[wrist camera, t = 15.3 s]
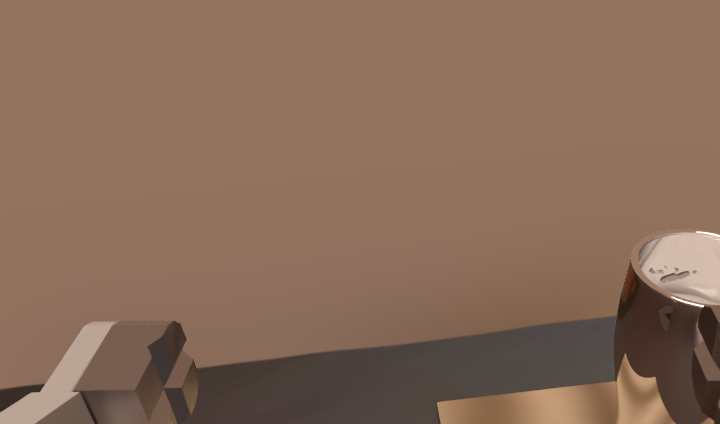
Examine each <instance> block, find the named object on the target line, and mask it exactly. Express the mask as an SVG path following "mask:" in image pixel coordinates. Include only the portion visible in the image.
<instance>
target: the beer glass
mask: <svg viewBox="0 0 720 424" xmlns="http://www.w3.org/2000/svg"><path fill="white" fill-rule="evenodd" d="M704 305H720V233H717V232H713V231H707V230H701V229H687V228H684V229H683V228H682V229H669V230H663V231H659V232H655V233H652V234H650V235H648V236H646V237H644V238H642V239H641V240H640V241H639V242H638V243H637V244H636V245H635V246H634V248H633V250H632V253H631V259H630V263H629V267H628V271H627V274H626V278H625V282H624V285H623V289H622V293H621V297H620V301H619V306H618V311H617V316H616V324H615V333H614V368H615V382H616V393H617V416H616V420H615V423H614V424H714V421H713V420H712V419H710V418H709V417H708V416H706V415H705V414H704V413H702V412H701V410H700V407H699V404H698V402H697V399H696V396H695V392H694V388H693V383H692V368H691V365H692V357H693V350H694V348H695V347H697V346H698V345H699V344H700V343H701V342H702V341H703V338H702V335H701V333H700V331H699V329H698V327H697V326H698V321H699V315H700V312H701V310H702V308H703V307H704Z"/></svg>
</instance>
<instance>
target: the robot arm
mask: <svg viewBox="0 0 720 424" xmlns="http://www.w3.org/2000/svg"><path fill="white" fill-rule="evenodd" d="M697 327H698V329H699V331H700V333H701V335H702V338H703V341H702V342H701V343H700V344H699V345H698V346H697V347H695V348H694V350H693V357H692V365H691V368H692V383H693V388H694V392H695V396H696V399H697V402H698V404H699V407H700V410H701V412H702V413H704V414H705V415H706V416H708V417H709V418H710V419H712V420H713V421H714V424H720V305H704V307H703V308H702V310H701V312H700V315H699V321H698V326H697ZM185 341H186V336H185V334H184V332H183V329H182V326H181V324H180V323H178V322H176V321H119V322H91V323H89V324H87V325H85V326H84V327H83V328H82V330H81V331H80V333H79V334H78V336H77V338H76V339H75V340H74V342H73V343H72V345H71V346H70V348H69V350H68V351H67V353H66V354H65V355H64V357H63V359H62V360H61V361H60V363H59V365H58V366H57V368H56V369H55V371H54V372H53V374H52V375H51V377H50V378H49V380H48V381H47V383H46V384H45V386H44V387H43V389H42V390H41V392H37V393H30V394H28V395H27V396H25V397H24V398H22V399H21V400H19V401H18V402H16V403H15V404H13V405H12V406H10V407H8V408H7V409H5V410H4V411H2V412H1V413H0V424H181V423H183V422H184V421H185V420H186V419H187V418H189V417H190V416H191V414H192V412H193V409H194V406H195V404H196V400H197V392H198V376H197V369H196V366H195V363H194V360H193V359H192V358H191V357H190V356H189V355H188V354H186V353H185V352H184V351H183V350H182V348H183V346H184V344H185Z"/></svg>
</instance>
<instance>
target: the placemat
mask: <svg viewBox="0 0 720 424" xmlns="http://www.w3.org/2000/svg"><path fill="white" fill-rule="evenodd" d="M437 407H438V413H439V419H440V424H614V423H615V420H616V416H617V393H616V382H615V381H613V382H605V383H596V384H588V385H579V386H571V387H562V388H554V389H545V390H537V391H528V392H520V393H511V394H503V395H494V396H486V397H477V398H469V399H460V400H452V401H443V402H437Z"/></svg>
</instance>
